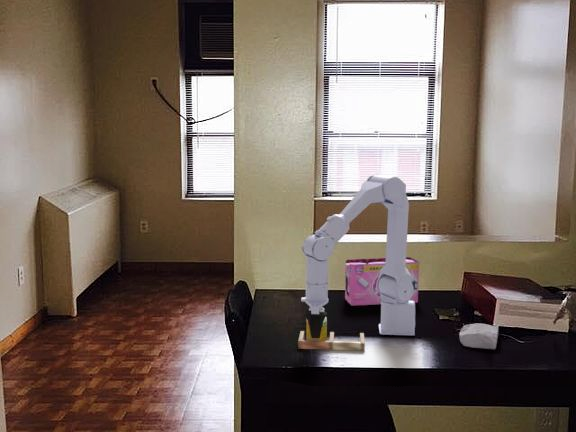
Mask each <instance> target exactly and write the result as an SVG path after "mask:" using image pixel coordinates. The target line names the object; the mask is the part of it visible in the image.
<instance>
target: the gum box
mask: <svg viewBox="0 0 576 432" xmlns="http://www.w3.org/2000/svg"><path fill="white" fill-rule="evenodd" d="M385 261H386V257H377V258H356V259H355V258H353V259H352V258H351V259H350V258H348V259H345V265H344V275H345V276H344V277H345V280H344V281H345V282H344V284H345V286H344V288H345V289H344V292H345V293H344V298H345V299H344V300H345V301H347V303H348V304H349V305H350V306H351V307H352V306H368V305H369V306H370V305H371V306H372V305H381V298H380V293H379V292H378V291H377V288H376V283H377V280H378V278H379V275H380V270H381V269H382V268H383V267H384V266H385ZM405 266H406V268H407V270H408V271H409V273H410V274H411V276H412V278H411V281H412V284H413V288H414V291H413V295H412V297H411V298H410V300H411V301H414V302H415V304H416V303H419V302H418V301H419V275H420V273H419V272H420V261H419V260H416V259H415V258H413V257H412V256H406V265H405Z"/></svg>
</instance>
